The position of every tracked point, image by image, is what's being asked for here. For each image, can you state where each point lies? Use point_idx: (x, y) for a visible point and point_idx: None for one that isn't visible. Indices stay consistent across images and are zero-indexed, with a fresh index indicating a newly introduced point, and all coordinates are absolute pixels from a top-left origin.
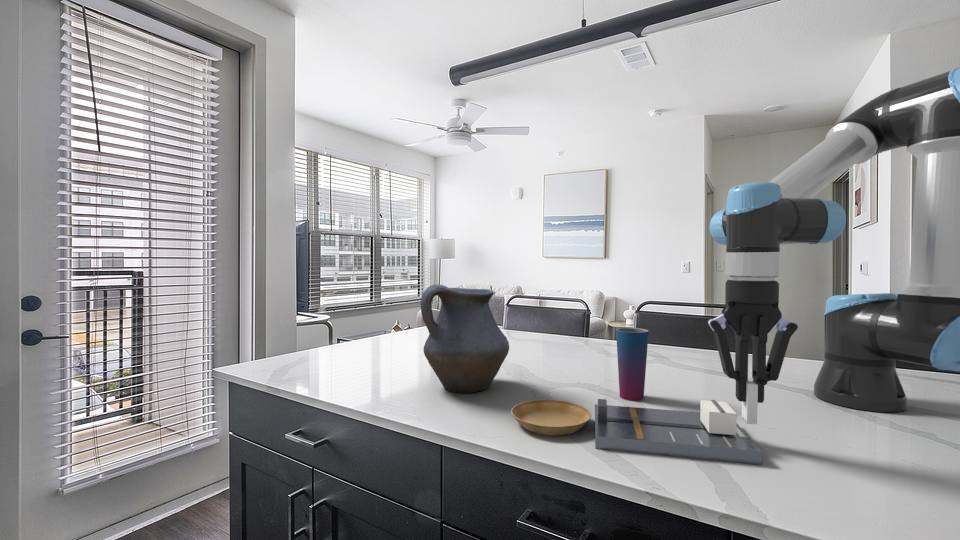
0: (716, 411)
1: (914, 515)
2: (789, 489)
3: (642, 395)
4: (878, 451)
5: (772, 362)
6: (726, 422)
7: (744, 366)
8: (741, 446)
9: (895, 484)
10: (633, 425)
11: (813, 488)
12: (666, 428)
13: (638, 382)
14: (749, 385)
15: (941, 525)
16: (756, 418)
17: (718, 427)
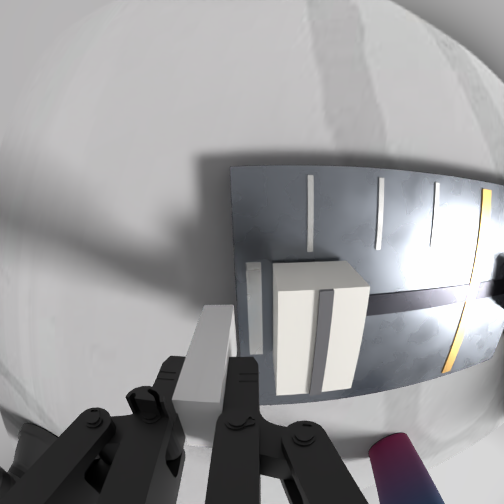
0: (344, 296)
1: (58, 62)
2: (212, 59)
3: (377, 449)
4: (26, 307)
5: (77, 482)
6: (306, 275)
7: (229, 484)
8: (277, 190)
9: (30, 169)
10: (481, 268)
11: (160, 81)
12: (431, 272)
13: (395, 463)
14: (211, 397)
15: (46, 52)
16: (202, 314)
17: (326, 267)
